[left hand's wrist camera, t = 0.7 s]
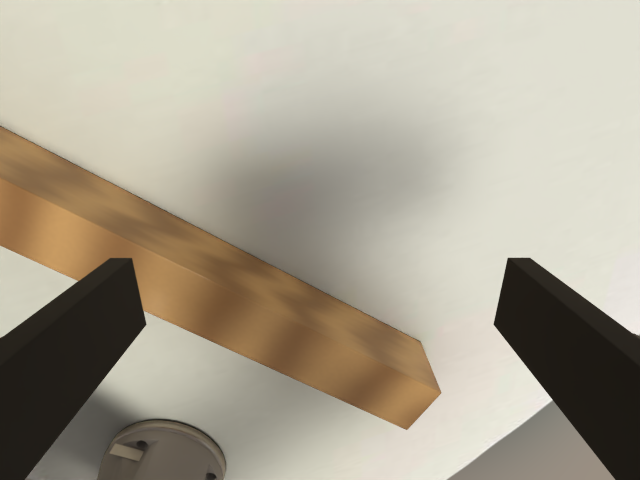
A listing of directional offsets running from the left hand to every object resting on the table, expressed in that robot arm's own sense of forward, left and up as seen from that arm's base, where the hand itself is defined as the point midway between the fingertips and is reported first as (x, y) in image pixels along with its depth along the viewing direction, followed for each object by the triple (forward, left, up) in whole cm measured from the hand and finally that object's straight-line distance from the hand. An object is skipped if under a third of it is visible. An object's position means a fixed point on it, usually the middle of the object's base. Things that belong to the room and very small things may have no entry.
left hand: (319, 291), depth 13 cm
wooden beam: (-14, +10, -21) cm, 28 cm away
